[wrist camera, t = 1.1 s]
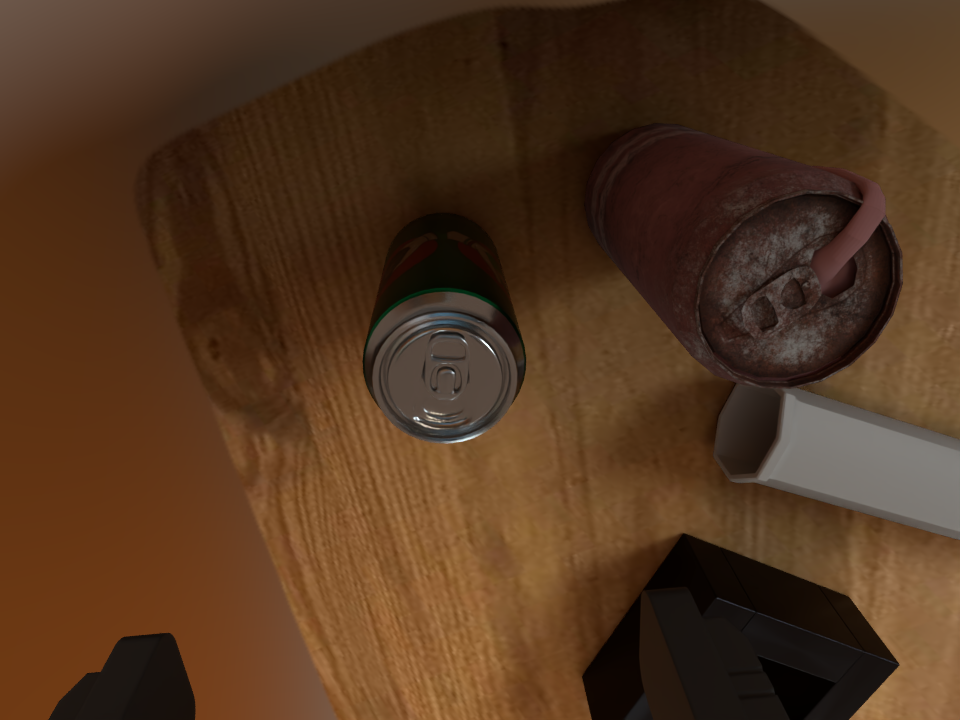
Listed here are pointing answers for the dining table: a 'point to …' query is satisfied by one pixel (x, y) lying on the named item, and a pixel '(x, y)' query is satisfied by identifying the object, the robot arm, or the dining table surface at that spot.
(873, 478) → the tube
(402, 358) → the soda can
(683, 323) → the can
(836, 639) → the holder
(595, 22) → the dining table surface
